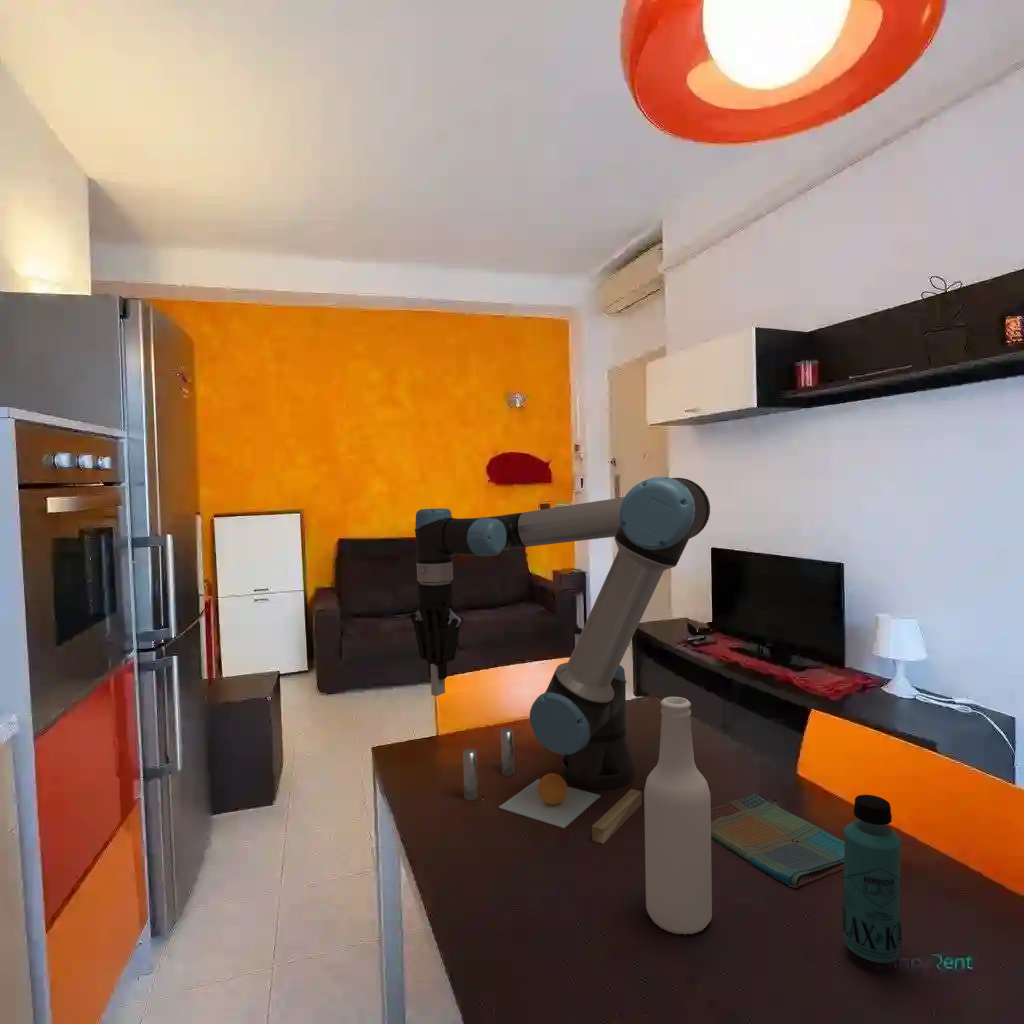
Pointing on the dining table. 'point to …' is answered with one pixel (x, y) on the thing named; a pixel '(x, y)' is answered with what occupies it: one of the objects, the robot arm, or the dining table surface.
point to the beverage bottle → (872, 882)
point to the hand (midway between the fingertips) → (438, 693)
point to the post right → (507, 751)
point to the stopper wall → (616, 816)
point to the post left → (470, 774)
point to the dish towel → (775, 839)
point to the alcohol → (677, 829)
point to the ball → (552, 789)
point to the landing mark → (557, 814)
